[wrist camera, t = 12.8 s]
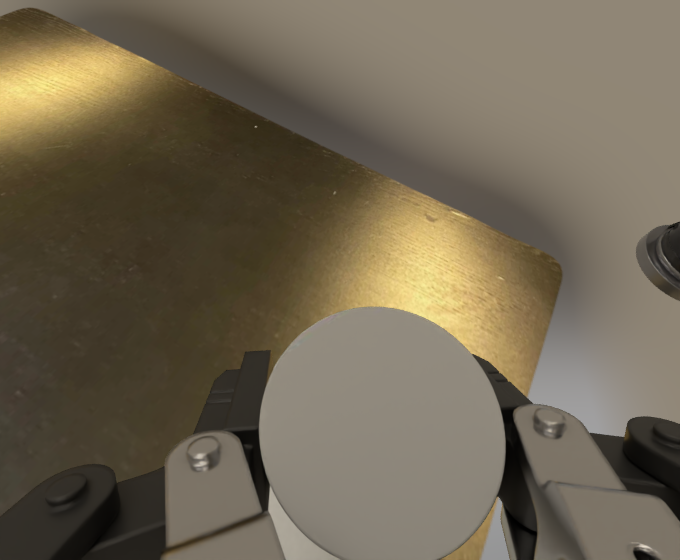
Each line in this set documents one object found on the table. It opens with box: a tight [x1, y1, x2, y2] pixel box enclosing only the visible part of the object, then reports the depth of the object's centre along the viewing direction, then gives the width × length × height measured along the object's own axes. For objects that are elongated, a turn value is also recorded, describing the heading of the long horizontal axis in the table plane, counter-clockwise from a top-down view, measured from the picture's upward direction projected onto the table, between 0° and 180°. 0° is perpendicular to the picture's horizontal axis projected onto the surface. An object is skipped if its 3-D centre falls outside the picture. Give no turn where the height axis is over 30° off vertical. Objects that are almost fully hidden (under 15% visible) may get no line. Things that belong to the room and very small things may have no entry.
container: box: [259, 307, 506, 560], centre depth 13 cm, size 5×5×15 cm
